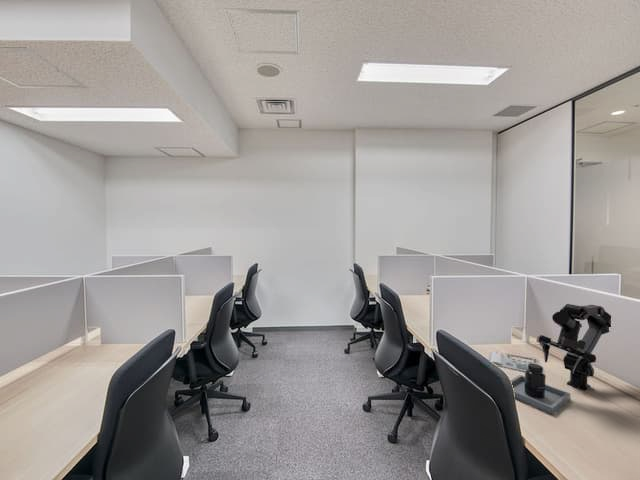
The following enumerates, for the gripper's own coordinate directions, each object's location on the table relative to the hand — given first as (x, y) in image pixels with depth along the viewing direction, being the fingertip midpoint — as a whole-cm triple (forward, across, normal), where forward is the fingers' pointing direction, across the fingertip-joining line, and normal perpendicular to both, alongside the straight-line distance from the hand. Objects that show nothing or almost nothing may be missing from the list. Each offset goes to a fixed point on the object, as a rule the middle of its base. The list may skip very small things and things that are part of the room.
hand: (559, 368), depth 119 cm
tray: (+15, -5, -1) cm, 16 cm away
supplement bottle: (+14, -5, -1) cm, 15 cm away
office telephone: (+4, -12, +30) cm, 32 cm away
